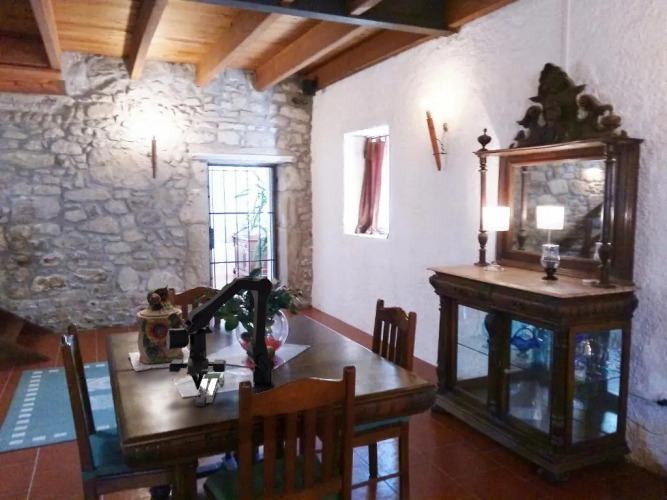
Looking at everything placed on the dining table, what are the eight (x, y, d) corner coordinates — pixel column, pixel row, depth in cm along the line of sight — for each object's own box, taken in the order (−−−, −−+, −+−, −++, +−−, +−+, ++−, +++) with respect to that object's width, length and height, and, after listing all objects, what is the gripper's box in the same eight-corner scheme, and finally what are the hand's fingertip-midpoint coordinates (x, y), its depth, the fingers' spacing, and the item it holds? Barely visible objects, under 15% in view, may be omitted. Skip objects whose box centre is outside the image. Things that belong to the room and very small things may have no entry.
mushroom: (268, 348, 231) (265, 339, 226) (280, 358, 226) (278, 349, 222) (253, 359, 227) (251, 350, 223) (265, 370, 222) (263, 361, 218)
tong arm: (209, 385, 193) (209, 377, 193) (204, 406, 174) (204, 398, 174) (201, 385, 193) (201, 378, 193) (195, 406, 174) (195, 398, 173)
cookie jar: (127, 356, 229) (124, 283, 226) (185, 349, 240) (183, 279, 237) (135, 373, 207) (132, 292, 204) (198, 364, 218) (196, 287, 215)
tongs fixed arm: (217, 385, 194) (217, 378, 193) (211, 402, 177) (211, 395, 177) (212, 385, 193) (211, 378, 193) (205, 402, 177) (205, 395, 177)
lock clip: (224, 378, 201) (224, 372, 200) (222, 384, 195) (222, 377, 194) (203, 379, 200) (203, 372, 200) (200, 384, 194) (200, 378, 194)
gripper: (165, 353, 175) (165, 398, 177) (222, 353, 177) (222, 398, 179) (172, 343, 186) (172, 386, 188) (226, 343, 188) (226, 386, 190)
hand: (197, 389), depth 186 cm, fingers closed
